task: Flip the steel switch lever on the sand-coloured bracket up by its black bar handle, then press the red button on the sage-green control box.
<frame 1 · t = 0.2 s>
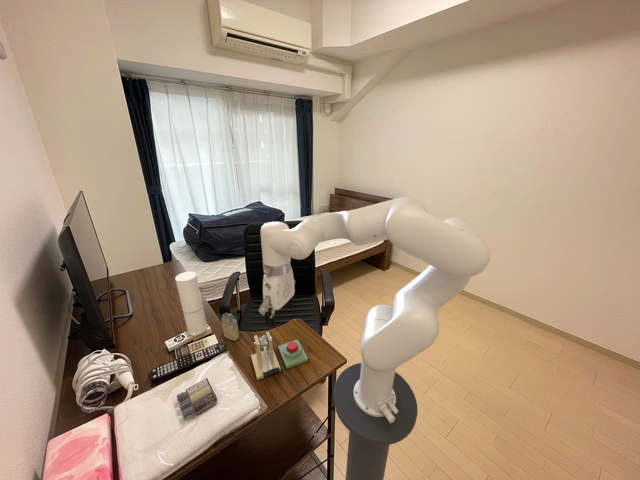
hand: (280, 316, 76), 23 cm above the table, tool pointing down, fingers open, 9 cm apart
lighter: (231, 336, 100), on the table
cylindrical container: (197, 329, 103), on the table
lever: (267, 355, 81), point 8 cm above the table, hinge at -25.0°
control box: (292, 354, 92), on the table
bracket: (265, 364, 88), on the table
button: (292, 347, 90), point 4 cm above the table, slide at 0.2 cm
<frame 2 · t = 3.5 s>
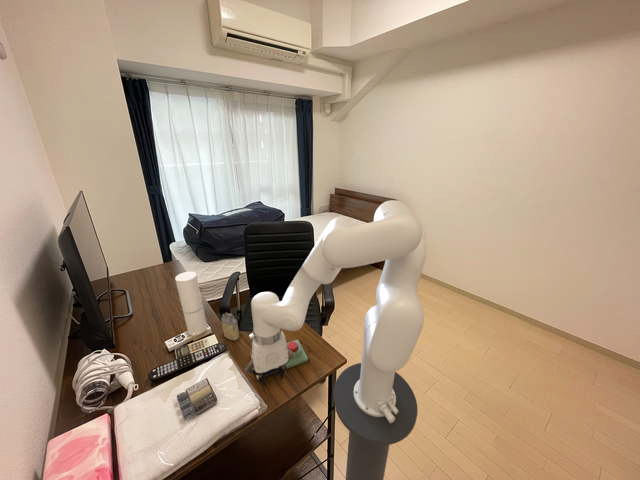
hand: (272, 378, 79), 3 cm above the table, tool pointing down, fingers closed on lever, 5 cm apart
lever: (267, 355, 81), point 8 cm above the table, hinge at -25.0°, touching gripper
everything else where it was.
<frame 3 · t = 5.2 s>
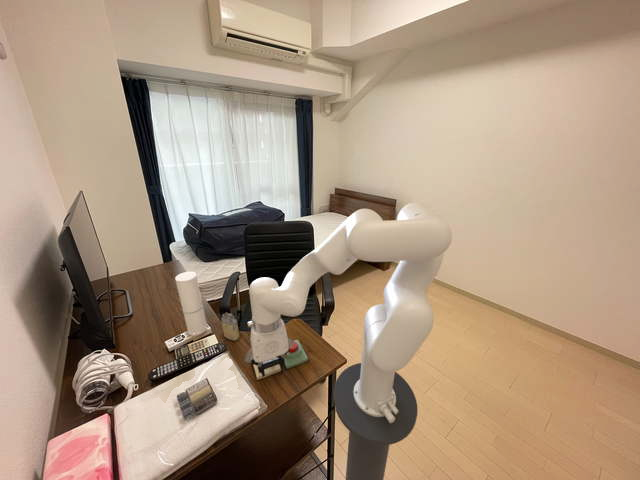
hand: (271, 368, 76), 8 cm above the table, tool pointing down, fingers closed on lever, 5 cm apart
lever: (266, 351, 80), point 10 cm above the table, hinge at 2.5°, touching gripper
everything else where it was.
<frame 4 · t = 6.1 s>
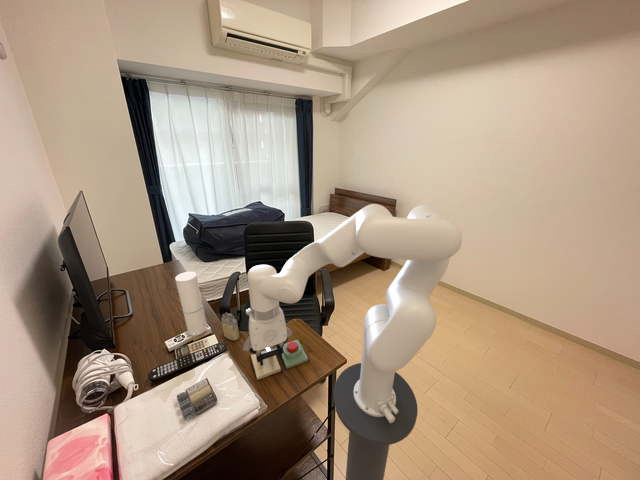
hand: (270, 358, 76), 12 cm above the table, tool pointing down, fingers closed on lever, 5 cm apart
lever: (266, 347, 80), point 12 cm above the table, hinge at 21.3°, touching gripper
everything else where it was.
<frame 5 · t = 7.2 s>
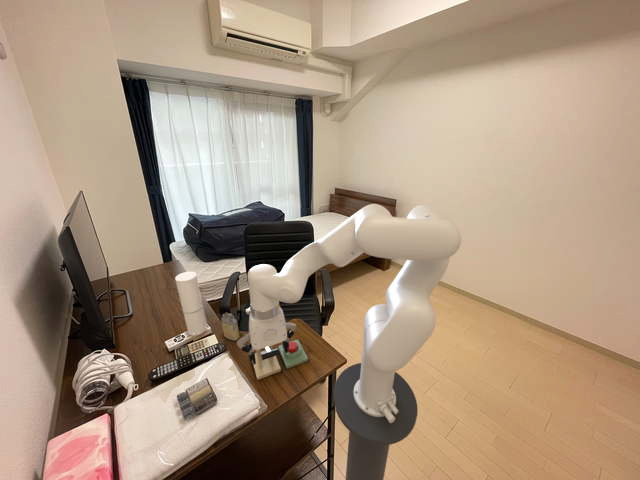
hand: (269, 355, 75), 13 cm above the table, tool pointing down, fingers open, 9 cm apart
lever: (266, 347, 80), point 12 cm above the table, hinge at 20.5°
everything else where it was.
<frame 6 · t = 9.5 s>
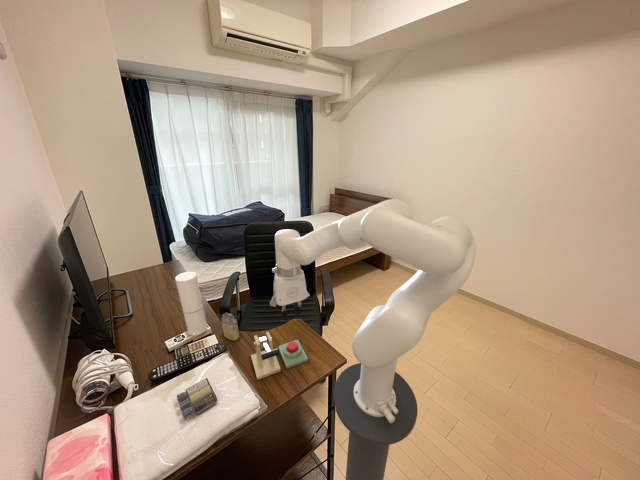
hand: (290, 316, 85), 17 cm above the table, tool pointing down, fingers open, 3 cm apart
nothing on the table moved.
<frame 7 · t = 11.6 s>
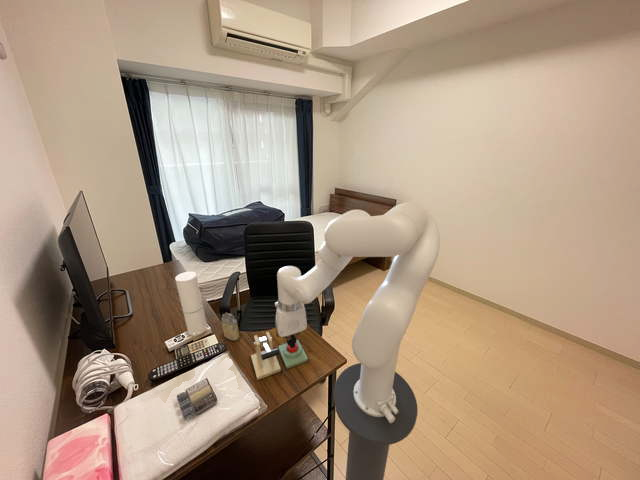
hand: (291, 344, 90), 4 cm above the table, tool pointing down, fingers closed
button: (292, 347, 90), point 4 cm above the table, slide at 0.2 cm, touching gripper
everything else where it was.
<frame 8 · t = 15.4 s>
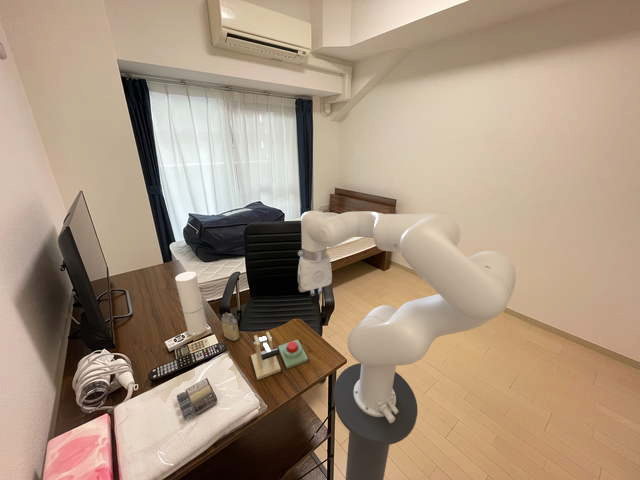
hand: (314, 302, 82), 23 cm above the table, tool pointing down, fingers closed
button: (292, 347, 90), point 4 cm above the table, slide at 0.2 cm
everything else where it was.
at the end: lever at +20° (first picture: -25°); button pushed in 1.1 cm at the most during the clip, back to 0.2 cm at the end; button slide at 0.2 cm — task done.
